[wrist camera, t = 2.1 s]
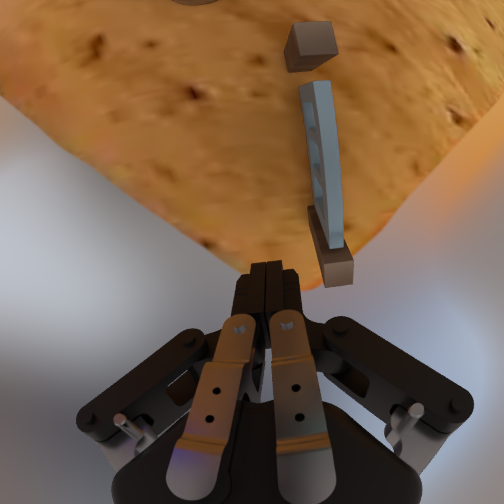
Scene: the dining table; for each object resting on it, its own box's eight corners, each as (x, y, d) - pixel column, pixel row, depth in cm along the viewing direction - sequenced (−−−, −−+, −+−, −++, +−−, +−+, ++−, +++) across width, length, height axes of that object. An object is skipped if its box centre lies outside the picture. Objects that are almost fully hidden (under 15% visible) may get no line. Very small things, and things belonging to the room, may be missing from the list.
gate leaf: (298, 87, 23) (312, 81, 15) (310, 86, 23) (330, 80, 15) (313, 204, 30) (329, 248, 22) (324, 203, 30) (343, 247, 22)
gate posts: (283, 51, 22) (293, 22, 12) (307, 49, 22) (331, 21, 12) (309, 225, 33) (324, 287, 23) (328, 222, 33) (352, 284, 23)
